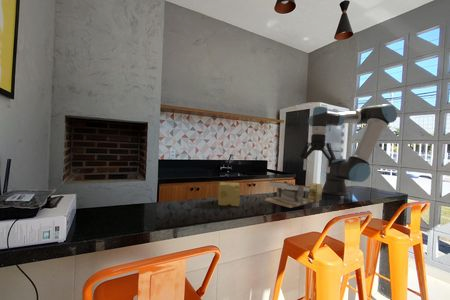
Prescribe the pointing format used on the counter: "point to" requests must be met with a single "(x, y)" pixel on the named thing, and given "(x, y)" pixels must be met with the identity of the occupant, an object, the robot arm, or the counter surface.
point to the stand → (289, 198)
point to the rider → (315, 192)
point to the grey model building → (288, 186)
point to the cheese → (228, 193)
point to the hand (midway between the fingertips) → (315, 171)
